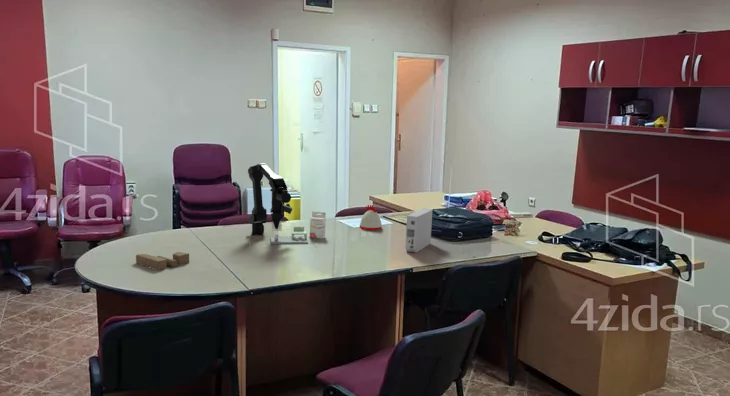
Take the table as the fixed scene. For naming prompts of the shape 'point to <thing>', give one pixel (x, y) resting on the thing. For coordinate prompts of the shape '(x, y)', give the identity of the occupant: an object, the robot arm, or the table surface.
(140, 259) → the wooden block set
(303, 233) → the cover
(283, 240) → the housing plate
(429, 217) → the game console
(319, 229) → the ink cartridge box
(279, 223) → the white hollow square block
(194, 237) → the table surface
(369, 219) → the cream and red dome
